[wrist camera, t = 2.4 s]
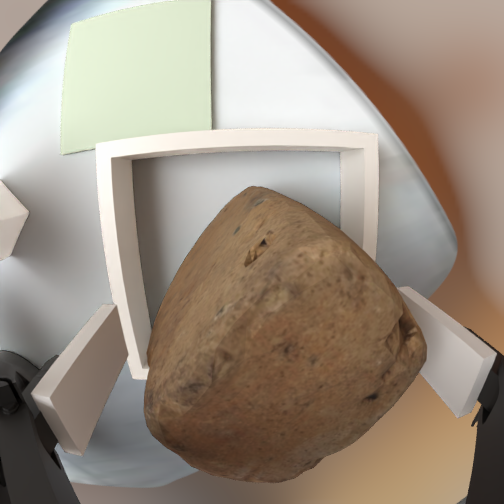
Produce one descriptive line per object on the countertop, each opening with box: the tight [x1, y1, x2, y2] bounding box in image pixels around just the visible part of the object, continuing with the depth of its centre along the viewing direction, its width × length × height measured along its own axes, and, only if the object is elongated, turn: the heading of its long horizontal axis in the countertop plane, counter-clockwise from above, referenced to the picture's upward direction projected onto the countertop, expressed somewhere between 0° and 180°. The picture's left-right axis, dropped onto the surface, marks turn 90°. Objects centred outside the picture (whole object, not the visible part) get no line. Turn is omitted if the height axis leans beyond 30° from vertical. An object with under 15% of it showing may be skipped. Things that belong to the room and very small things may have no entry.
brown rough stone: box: [144, 186, 427, 483], centre depth 17 cm, size 11×8×20 cm
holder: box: [96, 128, 379, 380], centre depth 24 cm, size 20×19×5 cm
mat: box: [61, 0, 212, 155], centre depth 21 cm, size 14×14×1 cm
